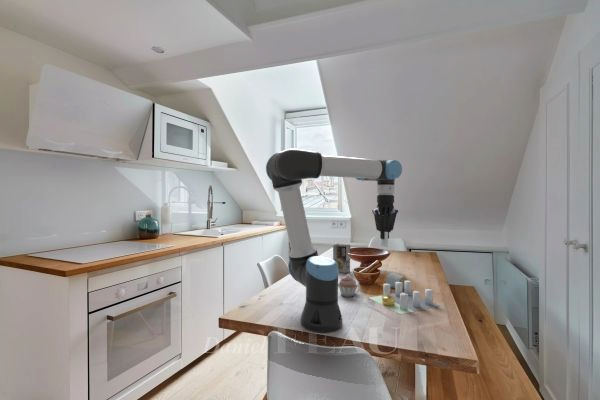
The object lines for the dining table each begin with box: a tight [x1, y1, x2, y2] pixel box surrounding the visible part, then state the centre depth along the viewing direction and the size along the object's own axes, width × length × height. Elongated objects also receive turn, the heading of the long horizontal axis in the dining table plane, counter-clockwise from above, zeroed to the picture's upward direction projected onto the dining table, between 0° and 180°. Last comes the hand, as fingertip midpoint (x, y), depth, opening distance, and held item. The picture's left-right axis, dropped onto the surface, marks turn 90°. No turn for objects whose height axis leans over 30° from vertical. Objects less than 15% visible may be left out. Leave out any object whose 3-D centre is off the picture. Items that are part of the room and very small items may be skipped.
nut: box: [382, 295, 395, 307], centre depth 126 cm, size 5×5×3 cm
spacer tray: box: [368, 280, 441, 315], centre depth 129 cm, size 22×20×7 cm
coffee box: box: [332, 243, 351, 274], centre depth 183 cm, size 9×6×16 cm
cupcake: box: [338, 273, 359, 298], centre depth 140 cm, size 9×9×10 cm
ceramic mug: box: [385, 272, 408, 291], centre depth 150 cm, size 11×8×8 cm
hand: (384, 246), depth 136 cm, fingers closed
